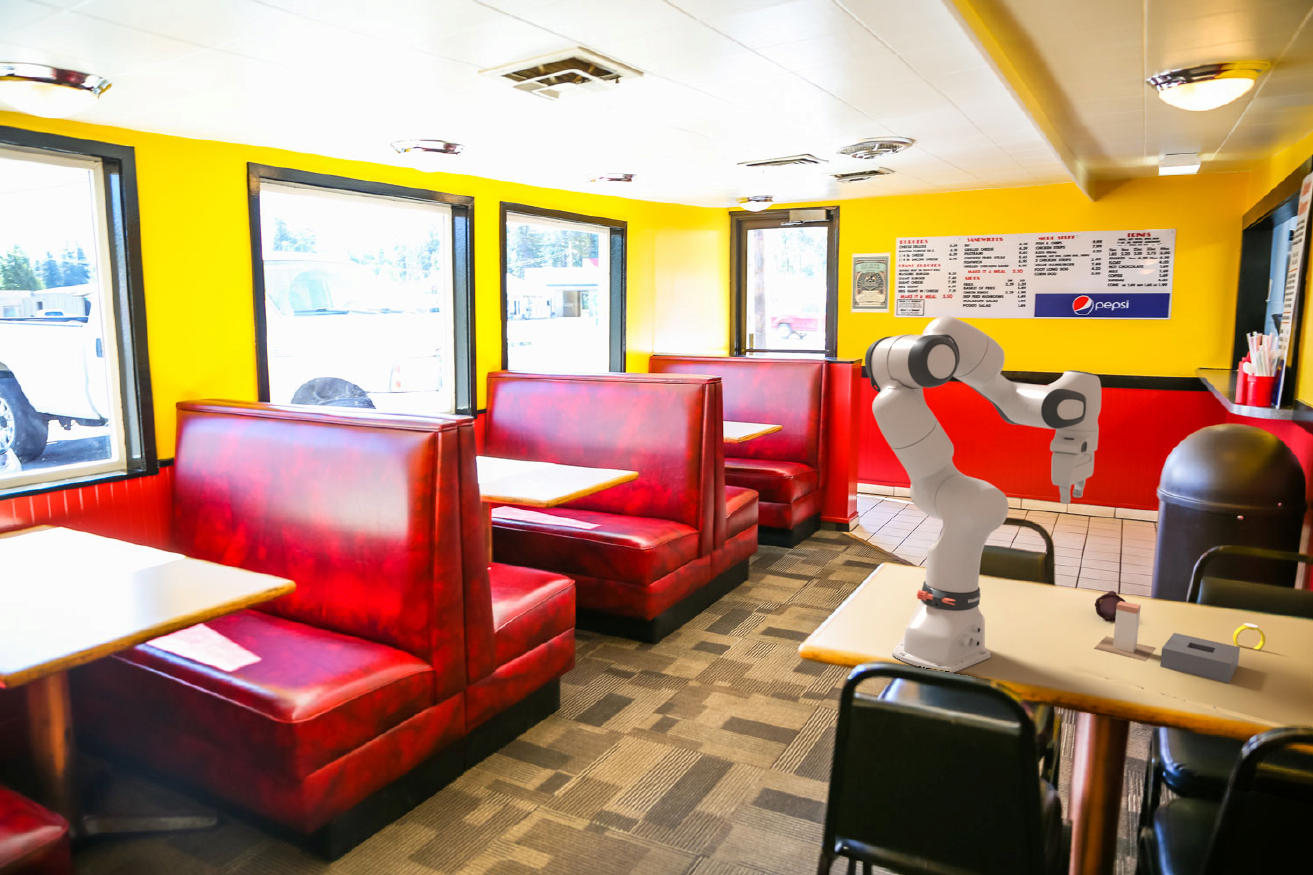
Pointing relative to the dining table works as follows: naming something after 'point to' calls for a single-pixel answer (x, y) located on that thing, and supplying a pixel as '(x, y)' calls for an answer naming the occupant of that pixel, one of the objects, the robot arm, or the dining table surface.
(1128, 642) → the plug
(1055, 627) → the dining table surface
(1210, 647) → the block
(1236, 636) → the watch
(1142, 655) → the pad
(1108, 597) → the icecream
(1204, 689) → the dining table surface
